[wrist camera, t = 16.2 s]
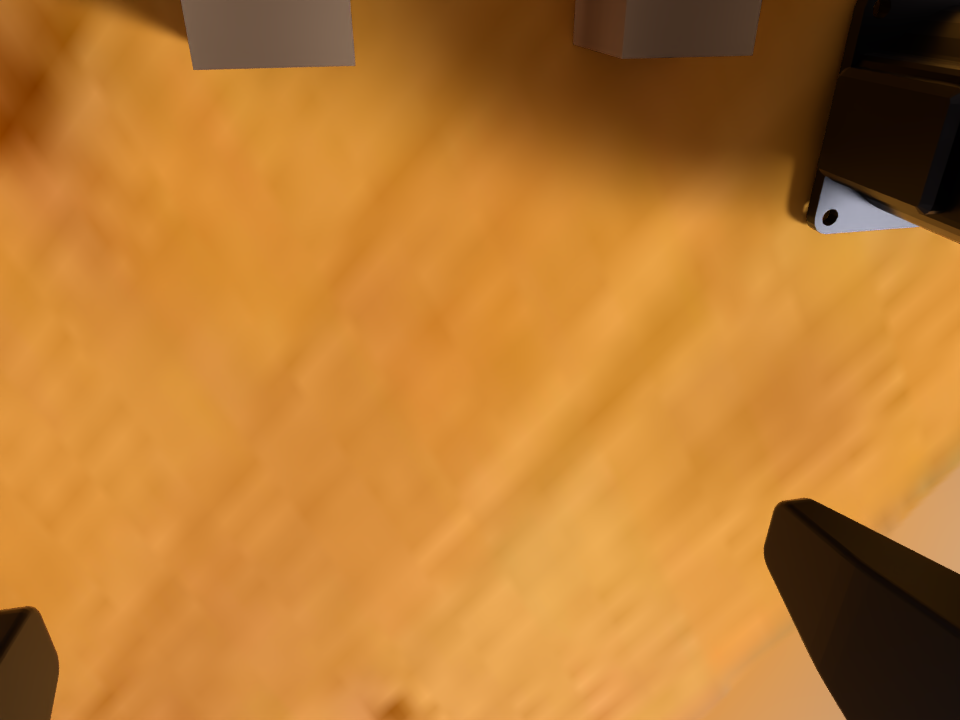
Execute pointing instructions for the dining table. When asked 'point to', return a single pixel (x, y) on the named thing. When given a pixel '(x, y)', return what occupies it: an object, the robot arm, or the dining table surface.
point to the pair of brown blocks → (329, 42)
